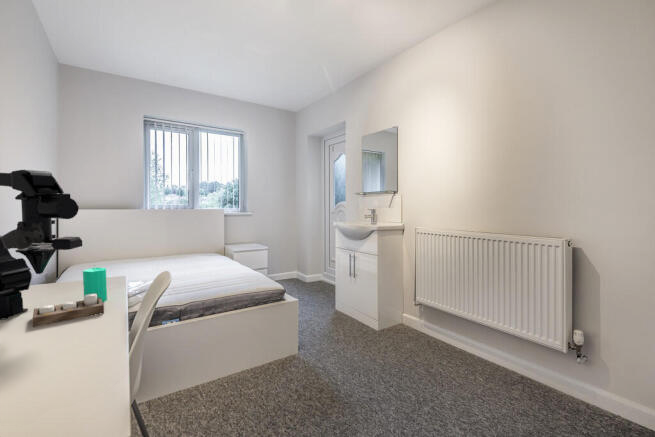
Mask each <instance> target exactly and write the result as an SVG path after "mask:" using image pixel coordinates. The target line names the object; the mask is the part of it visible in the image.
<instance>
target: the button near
mask: <svg viewBox="0 0 655 437" xmlns="http://www.w3.org/2000/svg"><path fill="white" fill-rule="evenodd" d="M54 305H55V304H54ZM54 305H53V304H51V305H50V304H48V305H44V306H40V307H38V308H39V314H44V313H50V312H54Z"/></svg>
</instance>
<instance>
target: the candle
mask: <svg viewBox="0 0 655 437" xmlns="http://www.w3.org/2000/svg"><path fill="white" fill-rule="evenodd" d="M82 278H83V279H82V281H83V282H82V284H83V297H84V296H85V295H88V294H97V298H101V300H102V302H103V303H104V302H106V301H107V300H108V292H107V291H108V289H107V268H106V267H99V266H98V267H96V265H95V264H94V267H90V268H87V269H84V270H82Z"/></svg>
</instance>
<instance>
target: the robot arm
mask: <svg viewBox="0 0 655 437" xmlns="http://www.w3.org/2000/svg"><path fill="white" fill-rule="evenodd" d="M0 186H1V187H9V188H11V189H13V190H15V191H18V192H20V193H19V194H17V195H16V196H15V198H14V199H15V200H17V201H21V205H20V206H21V221H17V224H16V225H17V227H16V229H12V230H11V231H8V232H7V233H5V234H3V235H0V320H5V319H6V320H7V319H9V318H12V317H15V316H17V315H20V314H22V313H25V312H28V311H29V308H24V300H23V299H24V298H23V296H22V292H23V291H27V290H29V288H30V285H31V282H32V277H33V274H32V272H31V270H32V269H33V270H34V272H35V274H36V275H41V274H43V273H44V271H45V269H46V267H47V266H48V263H49V262H50V260H51V259H52V256H53V255H54V253H55V252H56V251H57V250H59V251H68V250H70V251H71V250H73V249H77V248H80V247H83V240H82V239H81V237H80V236H63V237H58V238H56V234H53V225H55V224H56V220H55V219H58V220H59V219H61V220H70V219H74V217H76V216H77V215H78V213H79V209H80V208H79V205H78V203H77V202H76V200H75V199H73V198H72V197H71V193H65V192H64V190H63V188H62V187H61V186H60V184H59V183H58V180H56V178H55V177H54V176H53V174H52V172H50V171H46V170H45V171H44V170H33V169H19V170H17V169H16V170H13V171H11V172H0ZM10 249H16V250H14V251H15V253H19V254H21V255H22V256H24V257H26V259H27V261H28V262H29V264H30V266H31V267H32V269H31V268H30V267H29V265H28V264H27V262H26V260H25V259H24V258H21V257H19V258H15V257H14V256H12V254H11V252H10V251H9V250H10Z"/></svg>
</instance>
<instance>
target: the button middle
mask: <svg viewBox="0 0 655 437" xmlns="http://www.w3.org/2000/svg"><path fill="white" fill-rule="evenodd" d="M76 302H77V301H76V300H75V301H73V300H72V301H65V302H64V303H62V304H63V310H66V309H72V308H77V306H76Z"/></svg>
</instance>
